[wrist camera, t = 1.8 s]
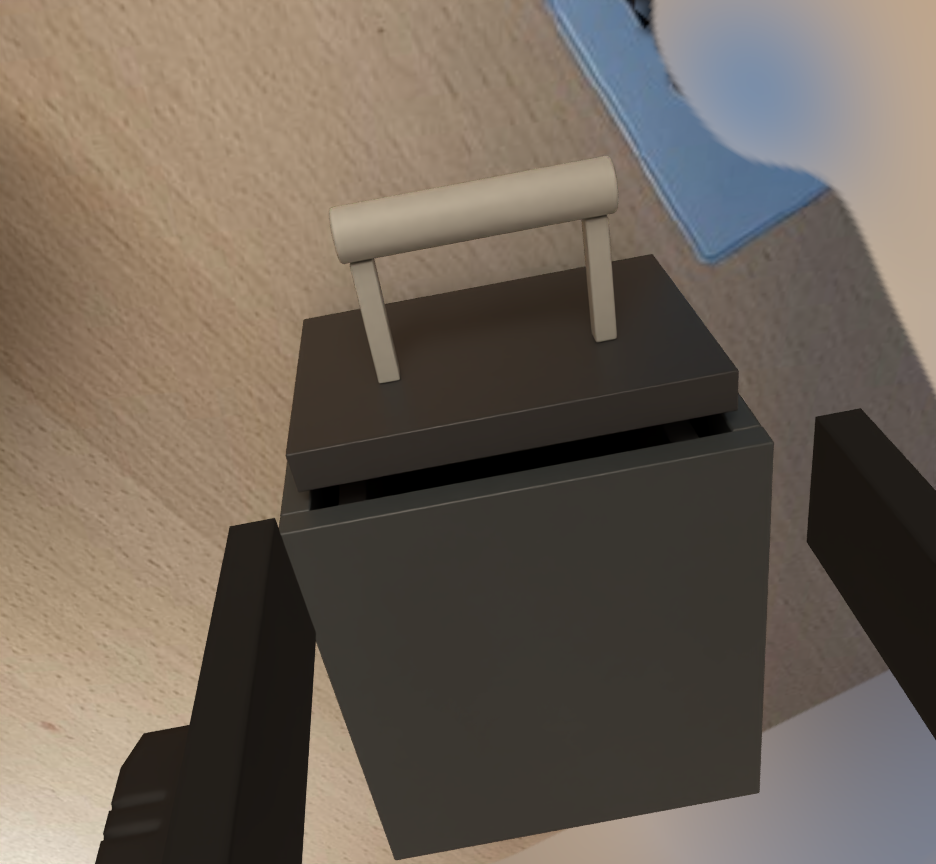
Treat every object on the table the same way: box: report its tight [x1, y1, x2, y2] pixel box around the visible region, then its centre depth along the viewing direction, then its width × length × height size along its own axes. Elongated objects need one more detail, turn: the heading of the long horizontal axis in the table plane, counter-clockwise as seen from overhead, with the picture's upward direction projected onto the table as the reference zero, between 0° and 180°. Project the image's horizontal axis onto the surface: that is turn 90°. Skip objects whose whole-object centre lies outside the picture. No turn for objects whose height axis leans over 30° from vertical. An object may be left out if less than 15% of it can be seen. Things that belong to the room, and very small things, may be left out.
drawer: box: [286, 156, 738, 505], centre depth 27 cm, size 18×11×8 cm, turn 9°
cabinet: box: [279, 393, 774, 860], centre depth 30 cm, size 15×13×10 cm
